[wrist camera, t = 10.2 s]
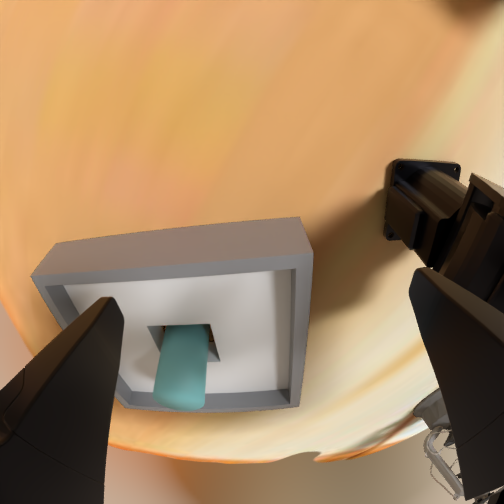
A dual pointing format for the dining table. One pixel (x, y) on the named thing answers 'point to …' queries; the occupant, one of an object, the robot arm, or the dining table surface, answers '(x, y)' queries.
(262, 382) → the box
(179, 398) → the peg
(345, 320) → the dining table surface
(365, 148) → the dining table surface
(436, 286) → the robot arm
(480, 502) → the lantern
